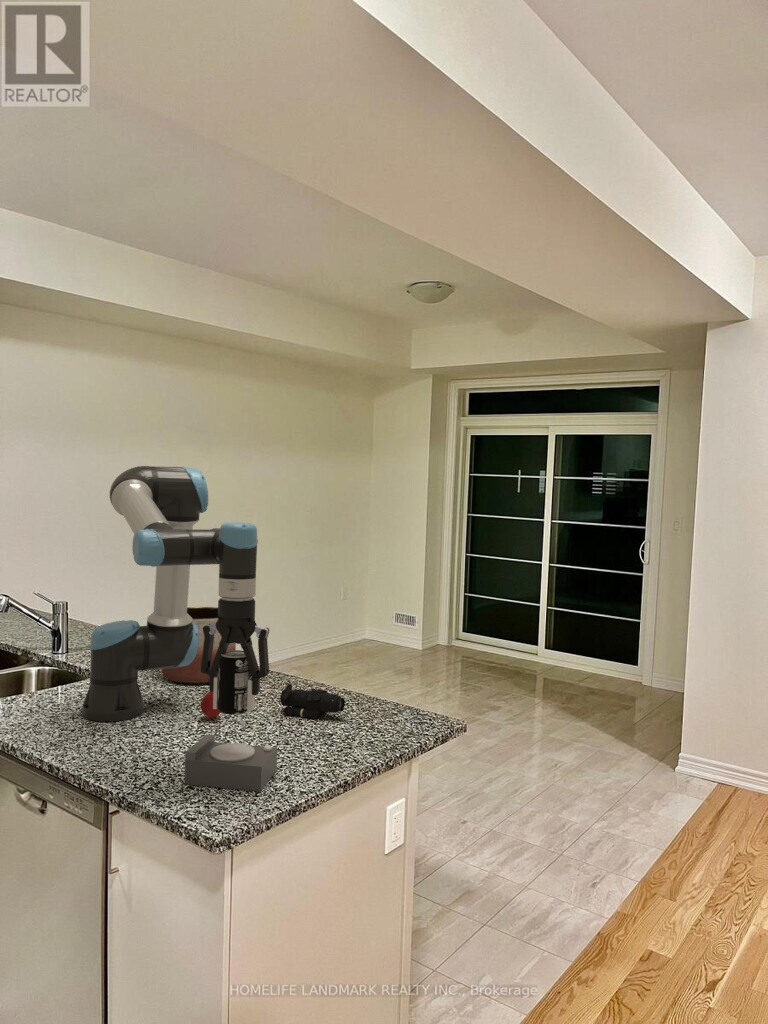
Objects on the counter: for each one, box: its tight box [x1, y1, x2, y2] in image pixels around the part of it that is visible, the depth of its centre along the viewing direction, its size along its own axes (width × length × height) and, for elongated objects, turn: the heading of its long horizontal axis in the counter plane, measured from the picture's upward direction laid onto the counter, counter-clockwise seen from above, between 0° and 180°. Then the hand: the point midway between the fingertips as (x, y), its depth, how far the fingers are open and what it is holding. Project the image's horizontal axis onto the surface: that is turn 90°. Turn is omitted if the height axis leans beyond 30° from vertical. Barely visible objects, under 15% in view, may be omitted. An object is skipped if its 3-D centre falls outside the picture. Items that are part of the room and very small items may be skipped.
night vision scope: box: [279, 683, 346, 720], centre depth 199 cm, size 8×18×10 cm
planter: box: [161, 606, 237, 685], centre depth 234 cm, size 22×22×20 cm
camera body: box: [184, 734, 278, 792], centre depth 156 cm, size 16×11×6 cm
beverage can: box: [218, 649, 251, 716], centre depth 156 cm, size 7×7×12 cm
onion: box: [199, 691, 222, 720], centre depth 193 cm, size 6×6×8 cm
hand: (233, 708), depth 156 cm, fingers closed on beverage can, 7 cm apart
